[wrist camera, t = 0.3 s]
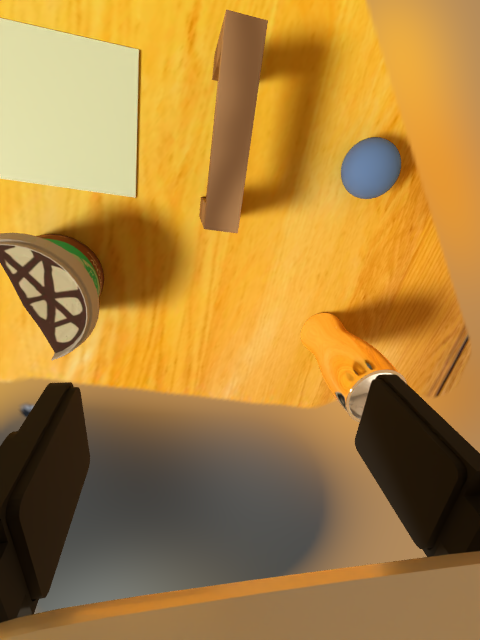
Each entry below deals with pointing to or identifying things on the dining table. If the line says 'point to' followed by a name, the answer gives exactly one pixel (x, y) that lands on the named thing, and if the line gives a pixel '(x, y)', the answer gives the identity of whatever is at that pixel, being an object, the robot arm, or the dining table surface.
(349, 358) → the metal pint tumbler
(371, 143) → the ball
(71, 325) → the food container
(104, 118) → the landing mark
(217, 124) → the bridge
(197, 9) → the dining table surface
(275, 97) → the dining table surface
